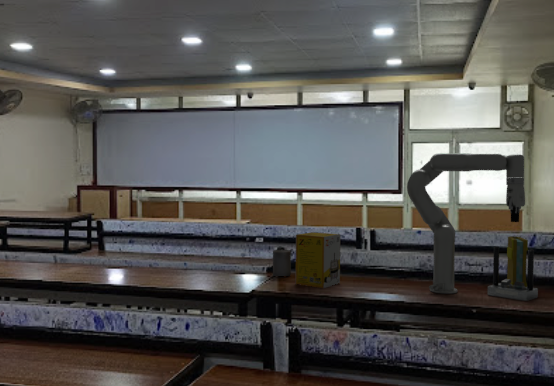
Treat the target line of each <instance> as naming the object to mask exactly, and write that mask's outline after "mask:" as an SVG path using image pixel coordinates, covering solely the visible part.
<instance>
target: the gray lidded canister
mask: <svg viewBox="0 0 554 386" xmlns="http://www.w3.org/2000/svg"><path fill="white" fill-rule="evenodd" d="M291 254H292V253H291V250H289V249H275V250H272V276H273V277H274V276H289V277H291V276H292V272H291V271H292V270H291V268H292V266H291V264H292V262H291V260H292V259H291V257H292V256H291ZM290 275H291V276H290Z"/></svg>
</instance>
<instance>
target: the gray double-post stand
mask: <svg viewBox="0 0 554 386" xmlns="http://www.w3.org/2000/svg"><path fill="white" fill-rule="evenodd" d="M534 257H535V250H534V249H528V250H527V275H526V283H527V287H525V286H517V285H512V284H509V285H507V286H504V285H502V284H501V282H499V274H500V246H498V245H497V246H496V245H495V246H493V262H492V263H493V268H492V270H493V271H492V273H493V275H492V276H493V277H492V285H488V286H487V296H493V297H498V298H503V299H510V300H511V299H512V300H517V301H524V302H528V301H531V300H534V299H537V298H538V297H539V296H538V295H539V288H537V287H534V265H535V264H534V262H535V258H534Z"/></svg>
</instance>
